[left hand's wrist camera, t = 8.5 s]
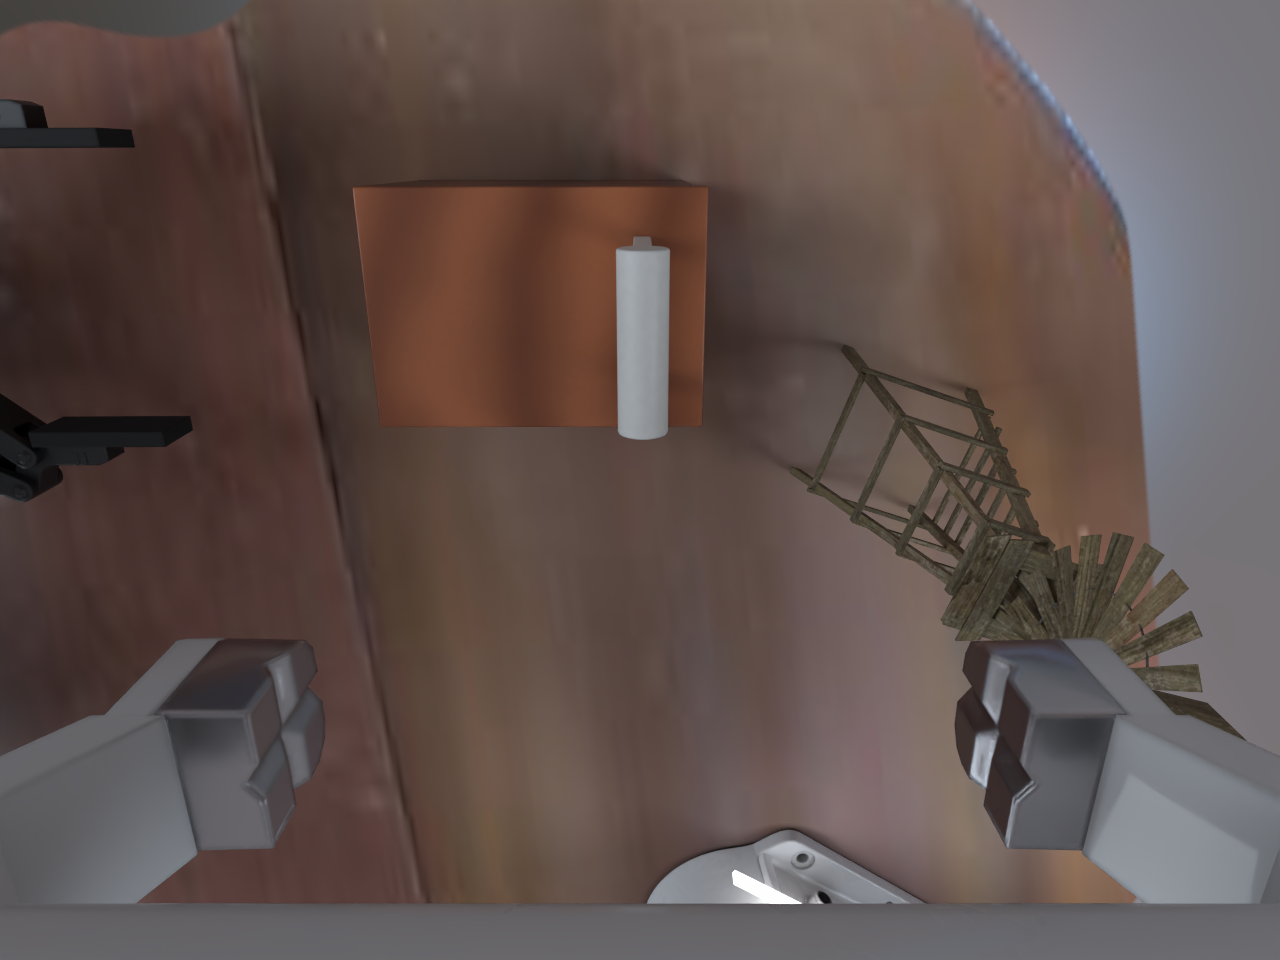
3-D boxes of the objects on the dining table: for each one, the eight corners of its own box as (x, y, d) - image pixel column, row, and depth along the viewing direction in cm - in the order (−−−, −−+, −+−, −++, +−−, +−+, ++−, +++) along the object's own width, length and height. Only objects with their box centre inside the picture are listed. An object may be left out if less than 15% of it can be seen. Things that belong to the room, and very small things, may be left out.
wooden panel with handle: (706, 185, 35) (726, 193, 27) (700, 418, 39) (716, 486, 31) (361, 186, 35) (279, 194, 27) (387, 419, 39) (322, 487, 31)
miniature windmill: (847, 335, 47) (1152, 597, 19) (982, 382, 48) (1463, 697, 20) (785, 479, 50) (970, 886, 22) (914, 520, 51) (1247, 960, 23)
